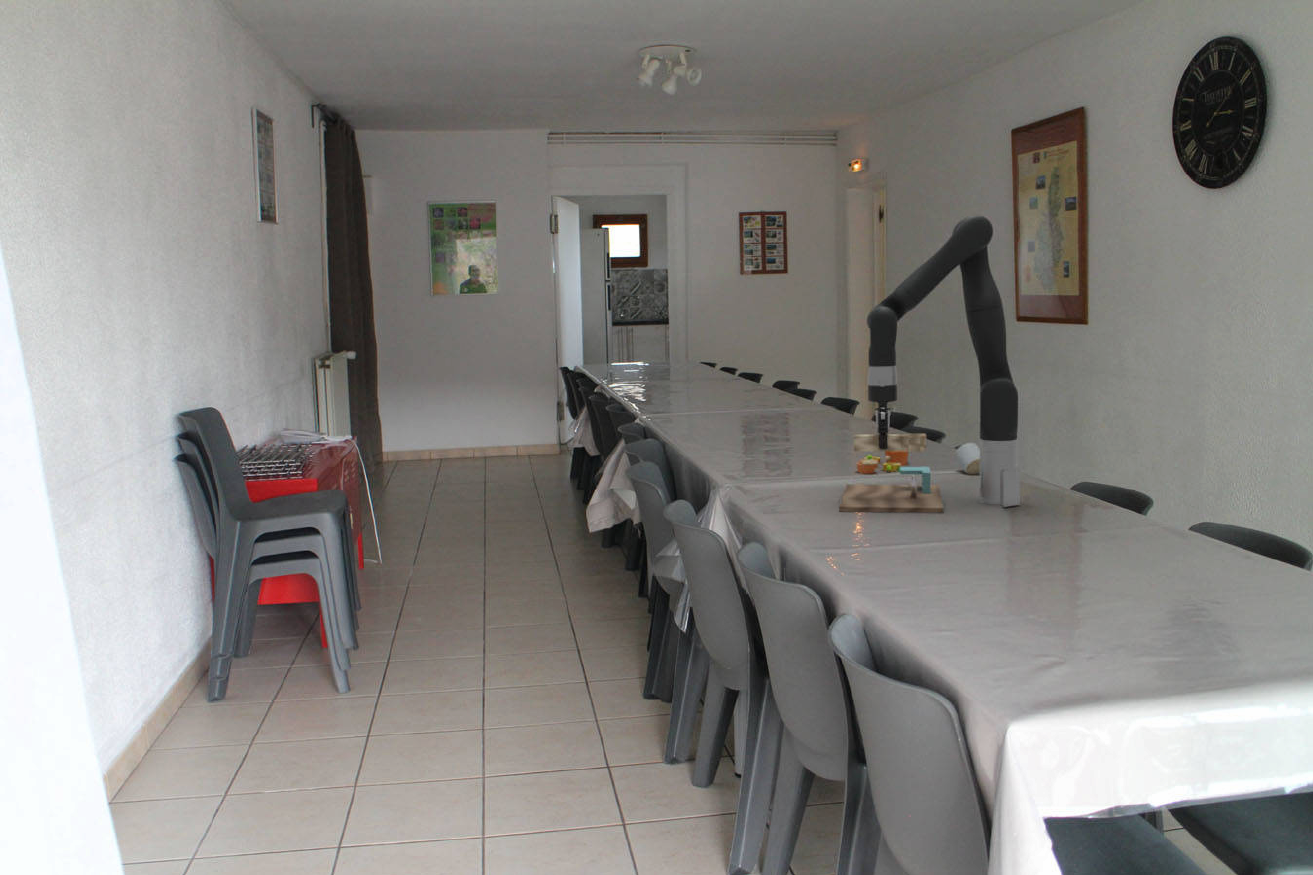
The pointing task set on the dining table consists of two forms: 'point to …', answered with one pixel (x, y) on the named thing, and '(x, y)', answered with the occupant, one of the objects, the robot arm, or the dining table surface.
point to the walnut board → (890, 499)
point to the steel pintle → (913, 485)
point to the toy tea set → (893, 463)
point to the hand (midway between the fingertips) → (883, 447)
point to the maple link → (891, 442)
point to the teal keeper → (919, 470)
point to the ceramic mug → (969, 458)
